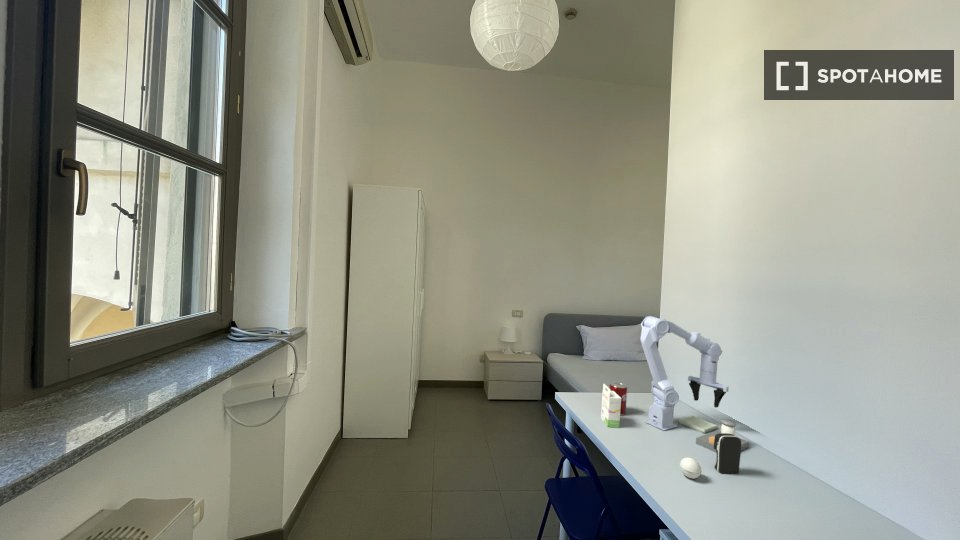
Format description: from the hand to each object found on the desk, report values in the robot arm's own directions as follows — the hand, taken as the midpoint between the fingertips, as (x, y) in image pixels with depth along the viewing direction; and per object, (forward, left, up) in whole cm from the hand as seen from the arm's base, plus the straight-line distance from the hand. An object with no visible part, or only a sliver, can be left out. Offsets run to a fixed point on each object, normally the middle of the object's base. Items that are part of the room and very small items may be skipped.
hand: (706, 403), depth 144 cm
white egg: (-45, -19, -10) cm, 50 cm away
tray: (-3, +1, -9) cm, 10 cm away
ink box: (-36, +18, -10) cm, 41 cm away
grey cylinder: (-8, -12, -9) cm, 17 cm away
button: (-17, -12, -8) cm, 22 cm away
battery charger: (-30, -21, -10) cm, 38 cm away
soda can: (-24, +24, -10) cm, 35 cm away
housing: (-12, -12, -9) cm, 19 cm away
